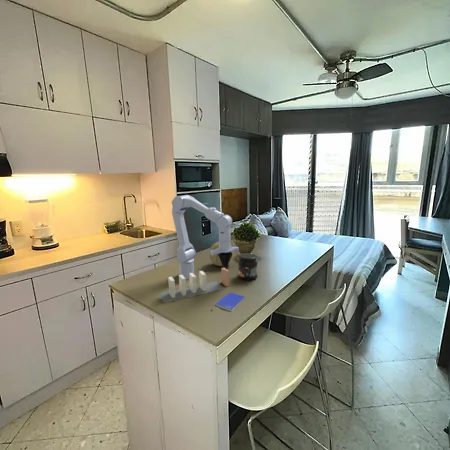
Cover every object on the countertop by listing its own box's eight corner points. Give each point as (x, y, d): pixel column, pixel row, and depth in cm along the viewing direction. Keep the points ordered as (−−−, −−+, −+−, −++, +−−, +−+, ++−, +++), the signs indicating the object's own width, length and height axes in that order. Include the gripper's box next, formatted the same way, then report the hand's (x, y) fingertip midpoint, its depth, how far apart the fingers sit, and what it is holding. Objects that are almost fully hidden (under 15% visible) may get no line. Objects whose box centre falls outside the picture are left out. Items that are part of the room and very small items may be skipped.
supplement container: (234, 274, 138) (234, 254, 136) (252, 272, 142) (252, 251, 140) (242, 282, 129) (242, 259, 126) (261, 279, 132) (261, 257, 130)
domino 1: (169, 293, 116) (168, 277, 115) (172, 292, 117) (171, 276, 116) (171, 297, 112) (170, 281, 110) (175, 297, 113) (174, 280, 111)
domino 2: (179, 291, 119) (178, 275, 117) (182, 290, 119) (182, 274, 118) (182, 295, 114) (182, 279, 113) (186, 294, 115) (185, 278, 113)
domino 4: (199, 286, 123) (199, 271, 121) (202, 286, 124) (202, 270, 122) (203, 291, 118) (202, 275, 117) (206, 290, 119) (206, 274, 118)
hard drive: (231, 308, 101) (245, 296, 112) (214, 303, 105) (229, 292, 116) (231, 312, 101) (245, 299, 112) (214, 307, 106) (229, 295, 116)
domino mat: (158, 293, 117) (158, 293, 117) (215, 281, 129) (215, 281, 129) (163, 303, 108) (163, 302, 108) (224, 289, 121) (224, 288, 121)
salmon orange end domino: (221, 283, 128) (221, 268, 127) (224, 282, 129) (224, 267, 127) (226, 286, 124) (225, 271, 122) (228, 286, 124) (228, 270, 123)
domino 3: (189, 289, 121) (189, 273, 119) (192, 288, 121) (192, 272, 120) (193, 293, 116) (192, 277, 115) (196, 292, 117) (195, 276, 115)
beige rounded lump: (217, 259, 163) (217, 237, 161) (237, 263, 156) (237, 240, 153) (204, 267, 151) (203, 242, 148) (225, 271, 144) (224, 246, 141)
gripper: (214, 244, 115) (214, 271, 118) (241, 240, 121) (241, 266, 124) (208, 240, 121) (209, 267, 124) (234, 237, 128) (234, 262, 130)
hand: (225, 266), depth 124 cm, fingers closed
